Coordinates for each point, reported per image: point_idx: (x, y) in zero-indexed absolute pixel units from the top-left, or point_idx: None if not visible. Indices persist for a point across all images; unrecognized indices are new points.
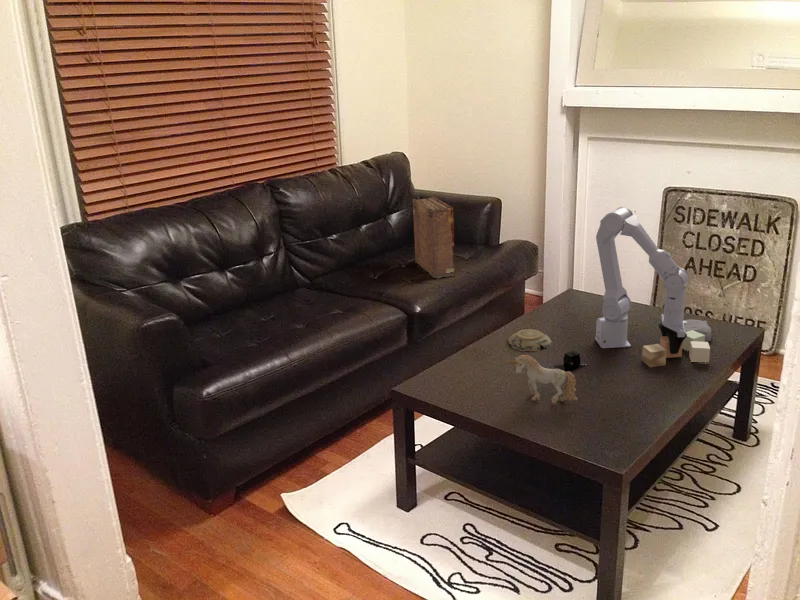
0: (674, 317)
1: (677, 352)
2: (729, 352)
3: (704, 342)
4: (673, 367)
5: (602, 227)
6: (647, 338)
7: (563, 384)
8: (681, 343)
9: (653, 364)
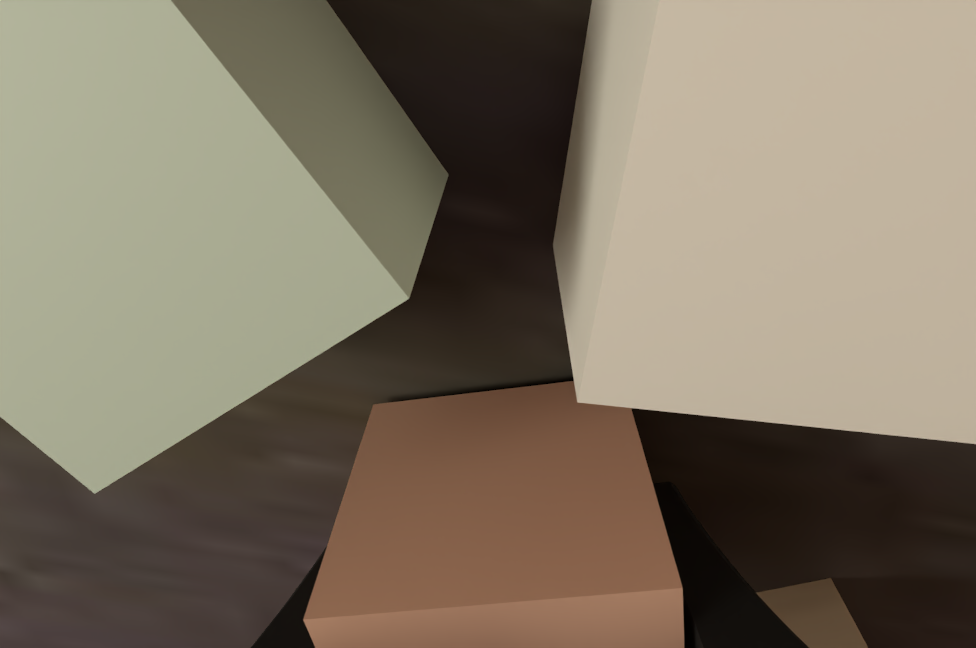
0: None
1: (679, 501)
2: None
3: (717, 18)
4: (925, 516)
5: None
6: (21, 604)
7: None
8: (794, 637)
9: None
